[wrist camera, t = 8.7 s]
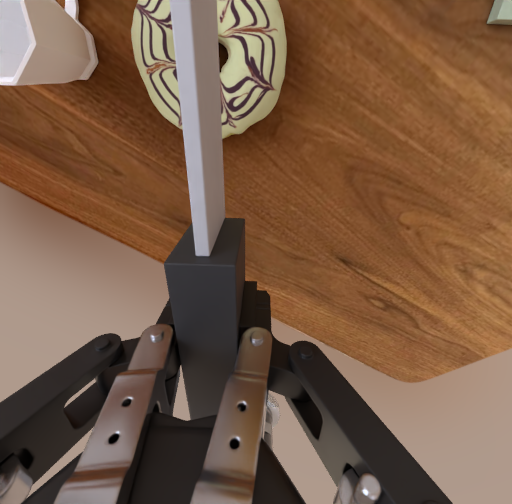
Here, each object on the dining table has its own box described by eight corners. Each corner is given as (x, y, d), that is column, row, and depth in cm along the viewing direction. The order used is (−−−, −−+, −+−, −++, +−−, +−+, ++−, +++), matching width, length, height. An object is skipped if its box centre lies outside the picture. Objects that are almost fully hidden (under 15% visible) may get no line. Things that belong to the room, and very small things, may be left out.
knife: (244, -151, 7) (220, -490, 3) (245, 349, 16) (239, 423, 12) (160, -151, 7) (32, -486, 3) (208, 348, 16) (190, 421, 12)
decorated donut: (295, 115, 22) (301, 114, 18) (180, 150, 23) (166, 155, 20) (266, -54, 17) (266, -96, 14) (124, 4, 19) (94, -22, 15)
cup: (21, 75, 21) (-105, 51, 14) (24, -93, 17) (-156, -254, 9) (107, 115, 22) (32, 112, 15) (131, -32, 18) (41, -135, 11)
